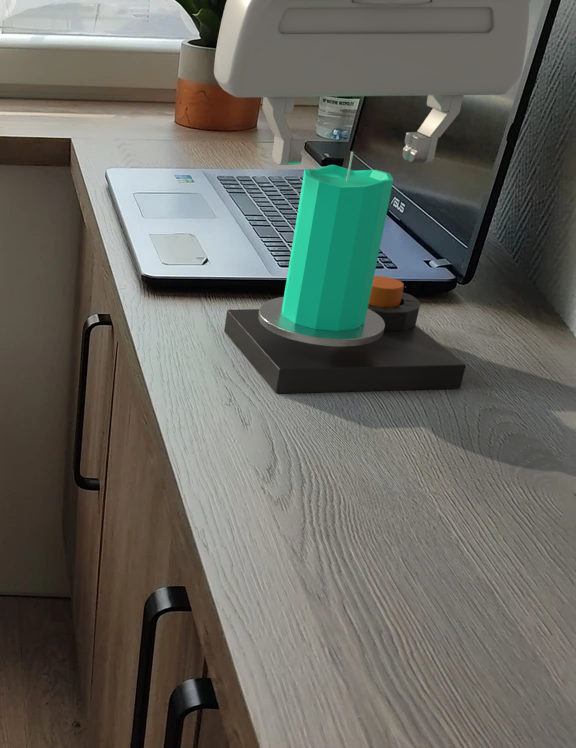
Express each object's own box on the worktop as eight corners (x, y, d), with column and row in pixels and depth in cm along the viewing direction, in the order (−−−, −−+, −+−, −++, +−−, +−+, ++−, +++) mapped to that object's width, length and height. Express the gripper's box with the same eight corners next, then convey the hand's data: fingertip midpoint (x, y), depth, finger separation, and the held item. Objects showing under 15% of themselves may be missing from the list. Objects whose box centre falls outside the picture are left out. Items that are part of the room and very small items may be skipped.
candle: (382, 321, 80) (416, 155, 75) (328, 337, 77) (359, 166, 72) (317, 296, 85) (345, 139, 79) (263, 311, 82) (289, 147, 76)
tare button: (389, 296, 88) (393, 275, 87) (406, 309, 85) (411, 288, 85) (353, 297, 88) (357, 276, 87) (369, 310, 85) (374, 289, 84)
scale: (390, 325, 91) (399, 285, 89) (466, 388, 80) (477, 343, 78) (222, 329, 89) (227, 288, 88) (275, 393, 78) (283, 348, 77)
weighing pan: (352, 301, 86) (354, 294, 85) (405, 345, 78) (407, 337, 77) (241, 303, 85) (242, 296, 84) (283, 348, 77) (284, 340, 77)
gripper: (517, -61, 73) (471, 149, 80) (219, -62, 71) (197, 153, 77) (572, -55, 67) (518, 170, 74) (251, -56, 65) (224, 175, 72)
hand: (351, 162), depth 76 cm, fingers open, 8 cm apart
